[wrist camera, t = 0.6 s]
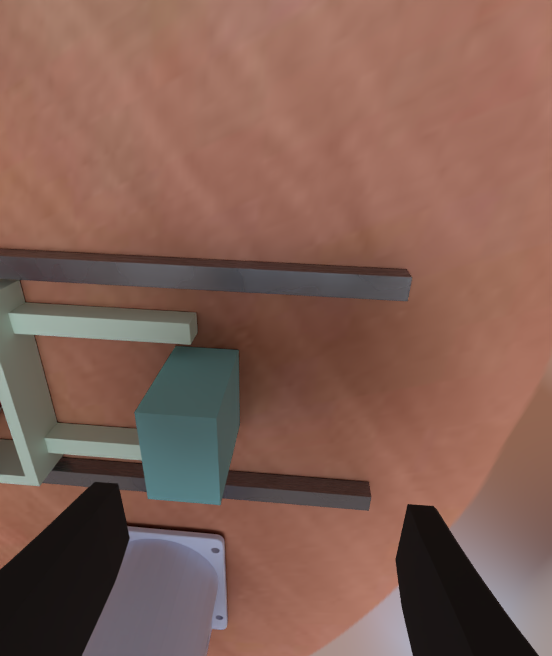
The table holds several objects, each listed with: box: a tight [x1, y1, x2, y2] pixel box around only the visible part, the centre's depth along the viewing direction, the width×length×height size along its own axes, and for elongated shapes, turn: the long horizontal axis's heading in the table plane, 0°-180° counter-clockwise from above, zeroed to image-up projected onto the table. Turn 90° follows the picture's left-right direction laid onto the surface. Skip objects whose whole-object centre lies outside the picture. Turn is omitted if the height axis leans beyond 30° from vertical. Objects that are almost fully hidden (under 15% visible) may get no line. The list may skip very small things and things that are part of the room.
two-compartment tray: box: [0, 279, 240, 505], centre depth 18 cm, size 10×20×5 cm, turn 88°
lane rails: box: [0, 249, 412, 511], centre depth 20 cm, size 13×25×1 cm, turn 88°
